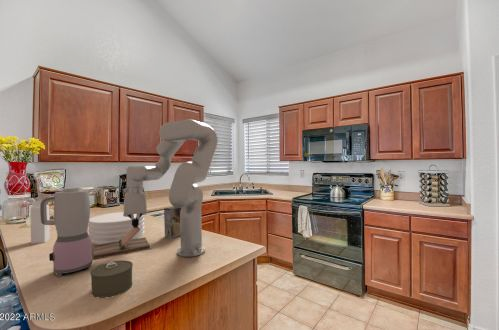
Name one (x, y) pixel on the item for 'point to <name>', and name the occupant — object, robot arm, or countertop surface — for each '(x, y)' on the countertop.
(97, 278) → the can
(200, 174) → the robot arm
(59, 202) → the blender
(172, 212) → the coffee box
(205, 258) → the countertop surface
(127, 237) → the tile
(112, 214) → the plate stack
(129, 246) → the walnut board
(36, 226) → the milk
